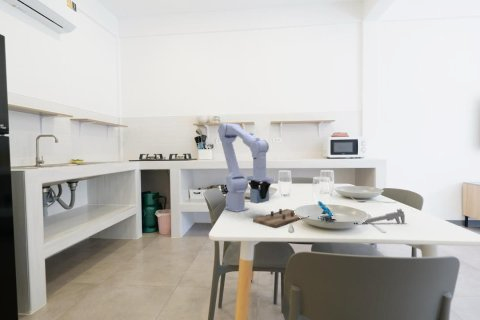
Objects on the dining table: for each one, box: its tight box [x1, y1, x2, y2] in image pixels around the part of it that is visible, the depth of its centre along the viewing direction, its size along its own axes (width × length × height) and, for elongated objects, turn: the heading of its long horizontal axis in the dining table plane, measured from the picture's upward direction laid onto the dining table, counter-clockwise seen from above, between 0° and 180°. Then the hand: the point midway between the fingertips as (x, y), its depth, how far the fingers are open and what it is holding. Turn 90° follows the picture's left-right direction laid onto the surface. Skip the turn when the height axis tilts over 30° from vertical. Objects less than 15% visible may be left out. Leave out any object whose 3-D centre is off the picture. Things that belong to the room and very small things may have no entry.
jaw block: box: [249, 186, 270, 204], centre depth 117 cm, size 4×8×6 cm, turn 134°
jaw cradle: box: [252, 208, 301, 229], centre depth 114 cm, size 12×24×3 cm, turn 134°
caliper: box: [361, 208, 406, 225], centre depth 106 cm, size 20×1×6 cm, turn 92°
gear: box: [317, 200, 334, 218], centre depth 114 cm, size 11×6×10 cm
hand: (259, 198), depth 117 cm, fingers closed on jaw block, 4 cm apart
